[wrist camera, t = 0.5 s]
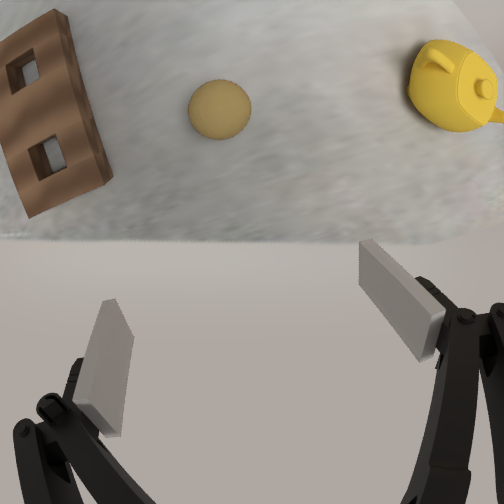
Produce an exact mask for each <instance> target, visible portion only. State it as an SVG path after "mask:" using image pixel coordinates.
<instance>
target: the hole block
mask: <svg viewBox="0 0 504 504" xmlns="http://www.w3.org/2000/svg"><path fill="white" fill-rule="evenodd" d="M34 59H36V64H37V68H38V73H39V77H40V78H39V79H37V80H36V81H34V82H32V83H31V84H29V85H27V86H26V85H25V80H24V76H23V72H22V67H23V66H24V65H26V64H27V63H29V62H31V61H32V60H34ZM56 136H57V139H58V142H59V145H60V148H61V151H62V154H63V157H64V160H65V163H66V165H67V167H65V168H63V169H61V170H59V171H57V172H55V173H53V172H52V169H51V167H50V164H49V161H48V158H47V156H46V153H45V150H44V147H43V143H44V142H46V141H48V140H50V139H52V138H54V137H56ZM0 143H1V146H2V149H3V152H4V155H5V158H6V161H7V164H8V167H9V170H10V173H11V176H12V178H13V181H14V184H15V186H16V189H17V191H18V194H19V196H20V199H21V201H22V204H23V206H24V208H25V211H26V213H27V215H28V218H29V219H30V218H32V217H34V216H36V215H38V214H40V213H42V212H44V211H46V210H48V209H50V208H52V207H55V206H57V205H59V204H61V203H63V202H66V201H68V200H70V199H72V198H75V197H77V196H79V195H82V194H84V193H86V192H89V191H91V190H93V189H96V188H98V187H101V186H103V185H105V184H106V183H107V182H108V181H109V180H110V179H111V178H112V177H113V174H112V171H111V168H110V165H109V163H108V160H107V157H106V154H105V151H104V148H103V145H102V142H101V139H100V136H99V133H98V130H97V127H96V124H95V121H94V118H93V114H92V111H91V108H90V105H89V101H88V98H87V94H86V91H85V87H84V84H83V80H82V76H81V73H80V69H79V65H78V61H77V57H76V53H75V49H74V45H73V40H72V36H71V32H70V27H69V22H68V17H67V16H66V15H64V14H63V13H61V12H59V11H58V10H56V9H53V10H51V11H49V12H47V13H45V14H44V15H42V16H40V17H39V18H37V19H35V20H33V21H32V22H30V23H29V24H27V25H25V26H24V27H22V28H21V29H19V30H18V31H16V32H15V33H13V34H12V35H10V36H9V37H7V38H6V39H4V40H3V41H1V42H0Z"/></svg>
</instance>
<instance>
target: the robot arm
mask: <svg viewBox="0 0 504 504" xmlns="http://www.w3.org/2000/svg"><path fill="white" fill-rule="evenodd" d="M359 285H360V286H361V288H362V289H363V290H364V291H365V293H366V294H367V295H368V296H369V298H370V299H371V300H372V301H373V303H374V304H375V305H376V306H377V308H378V309H379V310H380V312H381V313H382V314H383V315H384V317H385V318H386V319H387V320H388V322H389V323H390V324H391V326H392V327H393V328H394V330H395V331H396V332H397V333H398V335H399V336H400V337H401V339H402V340H403V341H404V343H405V344H406V345H407V347H408V348H409V349H410V351H411V352H412V353H413V355H414V356H415V357H416V359H417V360H418V362H423V361H425V360H427V359H429V358H431V357H433V355H434V352H435V348H437V349H438V350H439V352H440V355H439V359H438V361H437V364H436V367H435V369H437V374H436V379H435V385H434V391H433V396H432V402H431V406H430V411H429V415H428V420H427V424H426V428H425V433H424V437H423V440H422V444H421V448H420V452H419V455H418V458H417V462H416V465H415V468H414V472H413V475H412V478H411V481H410V484H409V486H408V489H407V491H406V493H405V495H404V497H403V499H402V501H401V503H400V504H465V502H466V498H467V494H468V490H469V486H470V481H471V471H470V470H468V463H469V458H470V453H471V447H472V440H473V433H474V426H475V418H476V408H477V395H478V381H479V370H480V374H481V378H482V383H483V388H484V393H485V398H486V403H487V409H488V415H489V421H490V428H491V435H492V443H493V452H494V464H495V477H496V493H497V500H498V504H504V303H495V304H493V305H492V307H491V309H490V312H489V313H485V314H479V315H476V313H475V312H473V311H472V310H470V309H466V308H458V307H457V306H456V305H455V304H454V303H453V302H452V301H450V300H449V299H448V298H447V297H446V296H445V295H444V294H443V293H441V291H440V290H439V289H438V288H436V286H435V285H434V284H433V283H432V282H430V281H429V280H427V279H425V278H423V277H421V276H419V277H416V278H413V277H412V276H411V275H410V274H409V273H408V272H407V271H406V270H405V269H404V268H403V267H402V266H401V265H400V264H399V263H397V262H396V261H395V260H394V259H393V258H392V257H391V256H390V255H389V254H388V253H387V252H386V251H384V250H383V249H382V248H381V247H380V246H379V245H378V244H377V243H375V242H374V241H373V240H372V239H368V240H364V241H360V242H359ZM133 341H134V336H133V334H132V332H131V330H130V328H129V326H128V324H127V322H126V320H125V318H124V316H123V314H122V312H121V309H120V307H119V305H118V303H117V301H116V299H111V300H106V301H103V302H102V305H101V308H100V311H99V314H98V316H97V319H96V322H95V325H94V328H93V331H92V334H91V337H90V340H89V344H88V347H87V350H86V353H85V356H84V358H78V359H77V360H76V361H75V363H74V364H73V365H72V368H71V370H70V374H69V377H68V380H67V384H66V387H65V390H64V394H63V397H62V398H61V397H60V396H59V395H58V394H57V393H49V394H46V395H45V396H43V397H42V398H41V399H40V400H39V402H38V404H37V407H36V411H37V414H38V415H39V416H40V417H41V418H42V419H43V420H44V422H41V423H38V424H35V423H34V422H33V421H31V420H30V419H27V418H25V419H22V420H20V421H19V422H18V423H17V424H16V425H15V427H14V430H13V441H14V448H15V456H16V463H17V468H18V474H19V480H20V485H21V490H22V495H23V499H24V503H25V504H84V503H83V501H82V498H81V495H80V492H79V490H78V487H77V484H76V481H75V478H74V475H73V473H72V469H71V466H72V467H73V469H74V470H75V472H76V473H77V475H78V476H79V478H80V479H81V481H82V482H83V484H84V485H85V487H86V488H87V490H88V491H89V492H90V494H91V495H92V496H93V498H94V499H95V501H96V502H97V504H156V503H155V502H154V501H153V500H152V499H151V498H150V497H149V496H148V495H147V494H146V493H145V492H144V491H143V490H142V488H141V487H140V486H139V485H138V484H137V483H136V482H135V481H134V480H133V479H132V478H131V476H129V474H128V473H127V472H126V471H125V470H124V468H122V466H121V465H120V464H119V463H118V461H117V460H116V459H115V458H114V457H113V456H112V454H111V453H110V452H109V450H108V449H107V448H106V447H105V445H104V444H103V443H102V442H101V440H99V438H98V436H99V431H100V432H101V433H102V434H103V435H104V436H105V437H106V438H107V437H121V430H122V420H123V411H124V403H125V395H126V387H127V380H128V373H129V366H130V360H131V353H132V348H133ZM69 462H70V463H69ZM70 464H71V466H70Z"/></svg>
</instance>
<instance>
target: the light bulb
mask: <svg viewBox="0 0 504 504" xmlns="http://www.w3.org/2000/svg"><path fill="white" fill-rule="evenodd" d="M188 114H189V119H190V121H191V124H192V125H193V127H194V128H195V129H196V130H197V131H198V132H199V133H200V134H202V135H203V136H205V137H207V138H210V139H215V140H223V139H228V138H231V137H233V136H235V135H236V134H238V133H239V132H240V131H242V130H243V129H244V127H245V126H246V125H247V123H248V121H249V119H250V115H251V102H250V100H249V97H248V95H247V94H246V92H245V91H244V90H243V89H242V88H241V87H240V86H238V85H237V84H235V83H233V82H231V81H227V80H213V81H210V82H207V83H205V84H204V85H202V86H201V87H199V88H198V89H197V90H196V91H195V93H194V94H193V95H192V97H191V99H190V102H189V106H188Z"/></svg>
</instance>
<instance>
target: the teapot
mask: <svg viewBox="0 0 504 504" xmlns="http://www.w3.org/2000/svg"><path fill="white" fill-rule="evenodd" d="M497 91H498V84H497V78H496V75H495V73H494V72H493V70H492V69H491V68H490V66H489V65H488V64H487V63H486V62H485V61H484V60H483V59H482V58H481V57H480V56H478V55H477V54H476V53H474V52H473V51H471V50H470V49H468V48H466V47H464V46H462V45H460V44H457V43H455V42H451V41H447V40H431V41H429V42H428V43H426V44H425V45H424V46H423V47H422V49H421V50H420V52H419V53H418V55H417V57H416V59H415V61H414V64H413V67H412V70H411V76H410V84H409V85H408V86H407V95H408V96H409V97H410V98H411V100H412V102H413V104H414V106H415V107H416V108H417V110H418V111H419V112H420V113H421V114H422V115H423V116H425V117H426V118H427V119H428V120H429V121H431V122H432V123H434V124H435V125H437V126H438V127H440V128H442V129H444V130H447V131H451V132H467V131H471V130H474V129H477V128H479V127H482V126H483V125H485V124H486V123H487V122H497V123H504V112H503V111H501V110H499V109H498V108H496V107H495V104H496V99H497Z"/></svg>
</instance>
